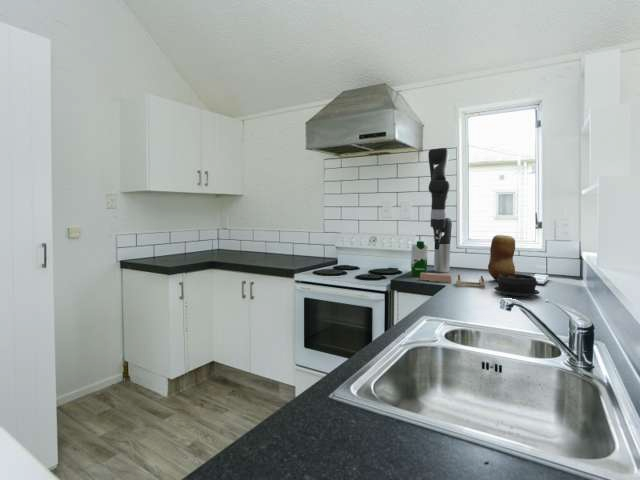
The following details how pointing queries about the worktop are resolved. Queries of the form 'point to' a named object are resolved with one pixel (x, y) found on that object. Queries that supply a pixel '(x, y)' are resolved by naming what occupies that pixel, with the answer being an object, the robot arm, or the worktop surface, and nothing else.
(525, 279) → the casserole
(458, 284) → the rack
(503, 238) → the butternut squash
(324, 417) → the worktop surface
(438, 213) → the robot arm
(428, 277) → the brown wooden block
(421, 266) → the milk carton
